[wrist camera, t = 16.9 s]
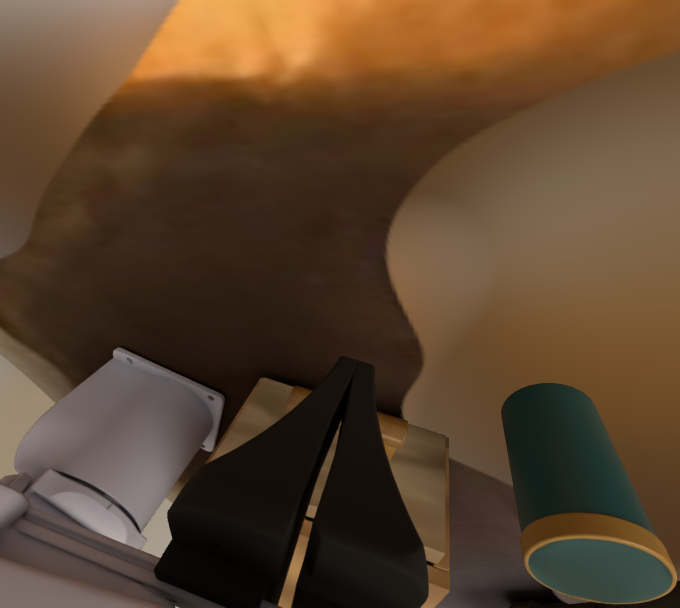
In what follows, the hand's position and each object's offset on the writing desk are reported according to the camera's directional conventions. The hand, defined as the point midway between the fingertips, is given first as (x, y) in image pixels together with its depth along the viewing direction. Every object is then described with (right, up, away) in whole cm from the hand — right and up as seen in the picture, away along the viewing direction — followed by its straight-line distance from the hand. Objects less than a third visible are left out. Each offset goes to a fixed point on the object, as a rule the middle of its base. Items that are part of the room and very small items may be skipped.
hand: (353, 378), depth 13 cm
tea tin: (+12, -3, +6) cm, 14 cm away
